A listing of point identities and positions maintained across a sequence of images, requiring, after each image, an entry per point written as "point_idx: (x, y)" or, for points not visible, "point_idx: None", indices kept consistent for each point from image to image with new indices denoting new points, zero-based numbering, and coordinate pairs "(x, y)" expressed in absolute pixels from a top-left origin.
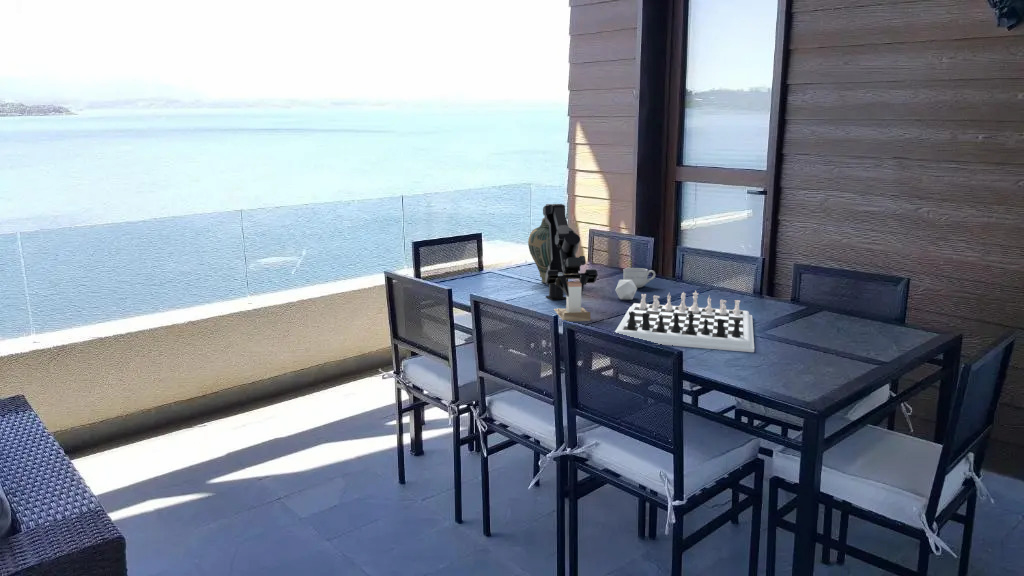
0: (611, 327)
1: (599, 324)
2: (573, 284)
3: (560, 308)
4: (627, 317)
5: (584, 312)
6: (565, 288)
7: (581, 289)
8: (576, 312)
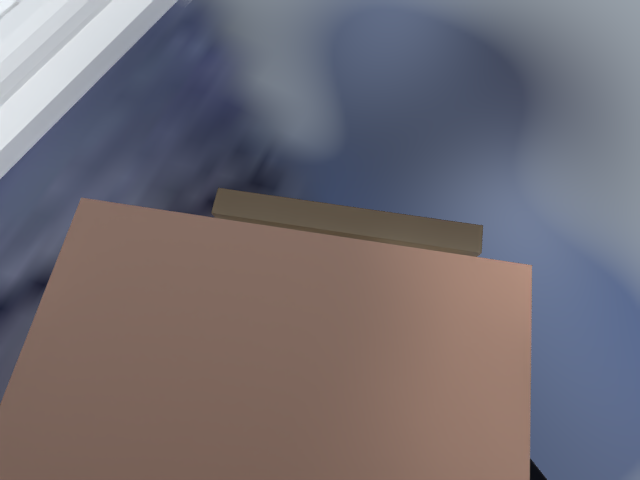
0: (174, 60)
1: (210, 142)
2: (371, 243)
3: None
4: (11, 23)
5: (274, 202)
6: (540, 476)
7: None
8: (352, 222)
